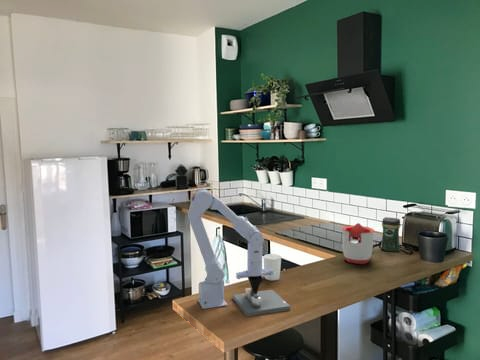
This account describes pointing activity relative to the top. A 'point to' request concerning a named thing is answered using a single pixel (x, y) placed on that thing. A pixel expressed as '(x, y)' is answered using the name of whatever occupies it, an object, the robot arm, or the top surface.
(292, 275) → the top surface
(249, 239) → the robot arm
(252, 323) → the top surface
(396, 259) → the top surface
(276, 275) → the white cup
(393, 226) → the coffee jar
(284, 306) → the plate
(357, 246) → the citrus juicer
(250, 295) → the lever
